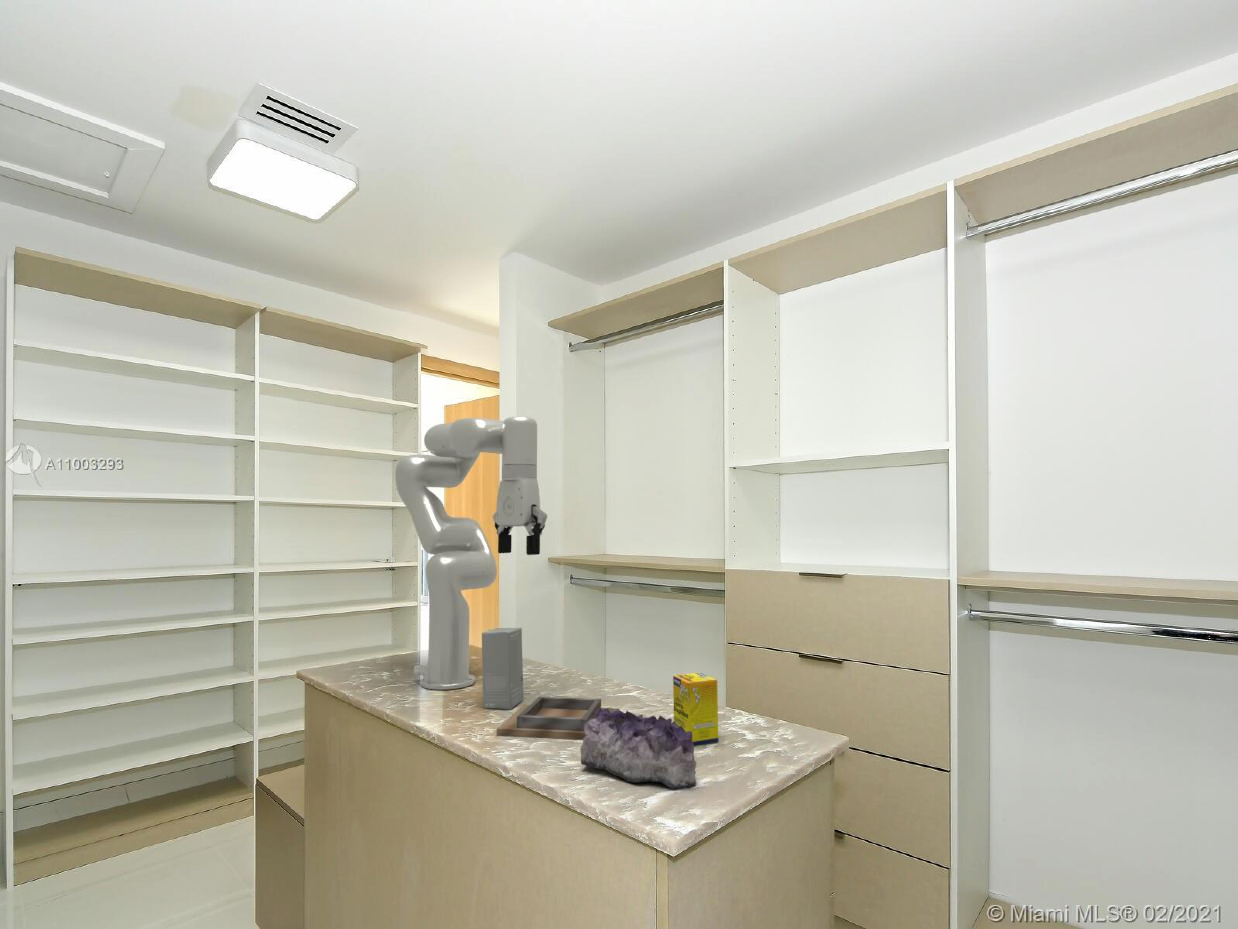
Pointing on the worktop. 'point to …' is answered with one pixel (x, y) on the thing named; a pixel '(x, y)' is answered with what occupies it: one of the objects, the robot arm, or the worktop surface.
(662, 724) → the geode
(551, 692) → the worktop surface
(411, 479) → the robot arm
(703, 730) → the supplement box
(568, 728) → the board
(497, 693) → the skincare box
